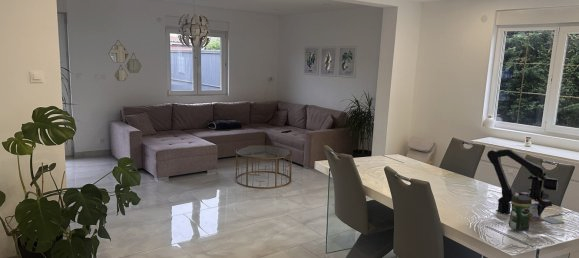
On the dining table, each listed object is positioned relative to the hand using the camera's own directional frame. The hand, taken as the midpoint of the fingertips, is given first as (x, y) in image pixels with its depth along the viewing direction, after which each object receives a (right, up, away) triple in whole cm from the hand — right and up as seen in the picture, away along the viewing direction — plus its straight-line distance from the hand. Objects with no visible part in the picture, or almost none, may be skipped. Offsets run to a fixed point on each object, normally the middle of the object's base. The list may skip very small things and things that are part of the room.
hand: (533, 213), depth 243 cm
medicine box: (0, -3, 0) cm, 3 cm away
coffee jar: (-18, -5, -17) cm, 26 cm away
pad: (+9, -4, -3) cm, 10 cm away
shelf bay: (-1, -3, 0) cm, 3 cm away
